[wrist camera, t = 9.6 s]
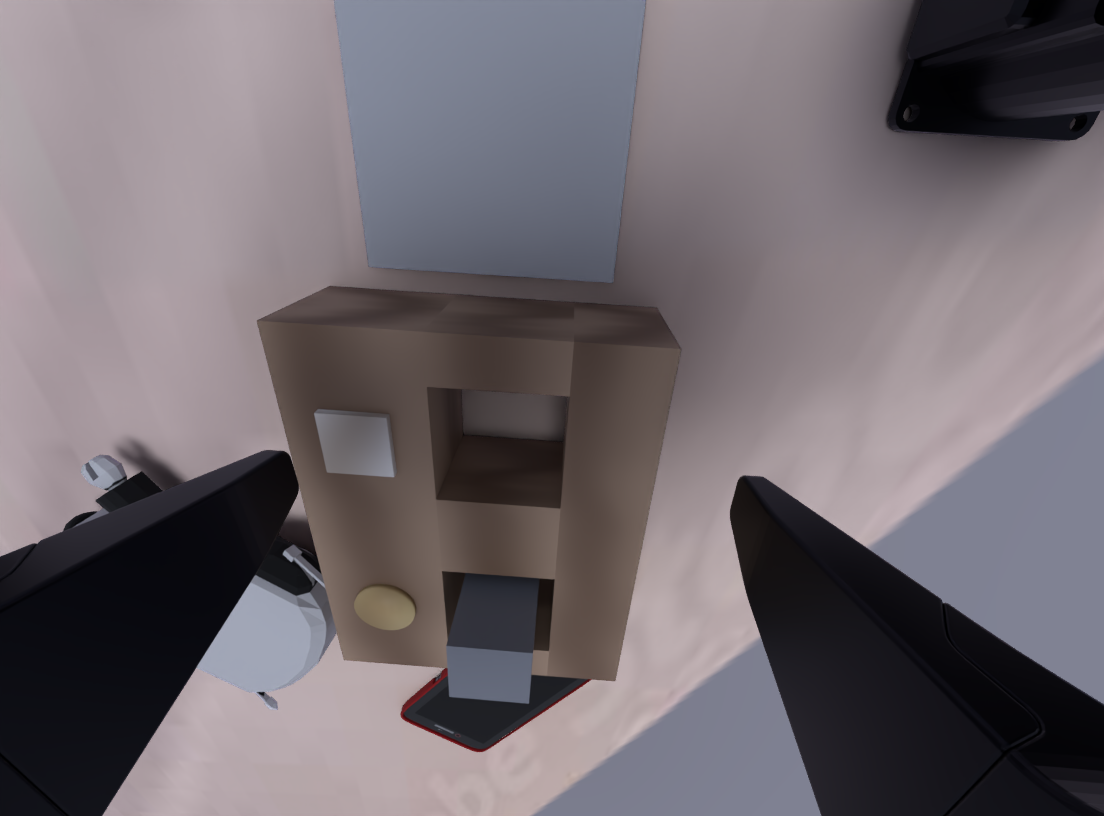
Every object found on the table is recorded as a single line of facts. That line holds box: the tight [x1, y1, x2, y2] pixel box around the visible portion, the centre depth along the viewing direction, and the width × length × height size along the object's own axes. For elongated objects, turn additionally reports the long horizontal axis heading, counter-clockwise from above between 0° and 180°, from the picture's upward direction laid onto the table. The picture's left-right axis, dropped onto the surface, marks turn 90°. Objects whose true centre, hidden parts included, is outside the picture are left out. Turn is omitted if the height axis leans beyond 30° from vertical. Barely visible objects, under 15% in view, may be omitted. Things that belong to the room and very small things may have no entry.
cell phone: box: [401, 668, 592, 752], centre depth 32 cm, size 8×15×1 cm, turn 141°
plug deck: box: [334, 0, 646, 283], centre depth 16 cm, size 10×10×1 cm
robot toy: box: [63, 455, 336, 710], centre depth 26 cm, size 12×4×15 cm
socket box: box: [257, 286, 681, 681], centre depth 21 cm, size 14×18×5 cm
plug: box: [446, 573, 540, 704], centre depth 22 cm, size 3×3×8 cm
